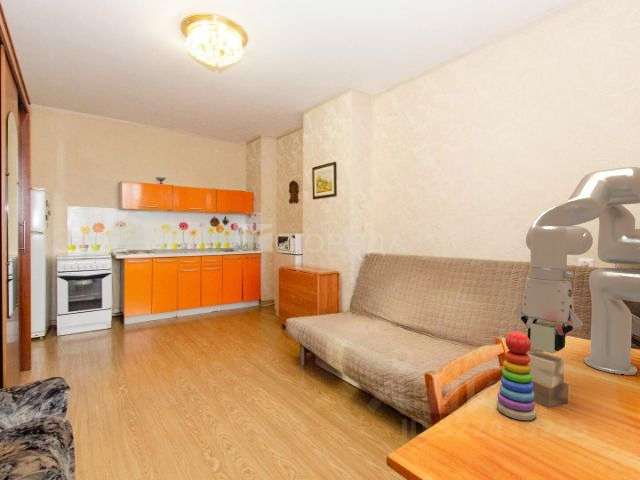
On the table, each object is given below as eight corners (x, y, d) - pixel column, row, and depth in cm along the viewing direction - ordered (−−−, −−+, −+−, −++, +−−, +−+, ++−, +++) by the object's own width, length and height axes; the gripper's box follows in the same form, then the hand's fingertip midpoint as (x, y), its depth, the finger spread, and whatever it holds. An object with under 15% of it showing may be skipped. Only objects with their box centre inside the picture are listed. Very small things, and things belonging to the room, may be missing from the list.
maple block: (537, 373, 86) (538, 350, 86) (563, 382, 81) (564, 358, 81) (525, 378, 83) (526, 355, 83) (551, 387, 78) (552, 363, 78)
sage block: (538, 344, 85) (539, 321, 85) (561, 349, 81) (561, 326, 81) (530, 347, 82) (530, 324, 82) (552, 353, 78) (553, 329, 78)
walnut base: (539, 391, 87) (540, 372, 87) (567, 404, 80) (568, 384, 80) (521, 395, 84) (521, 376, 84) (548, 409, 78) (549, 388, 77)
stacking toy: (542, 424, 71) (545, 339, 71) (503, 419, 72) (505, 336, 72) (527, 405, 79) (529, 329, 78) (491, 401, 80) (493, 326, 80)
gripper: (595, 278, 77) (593, 354, 77) (518, 270, 91) (516, 335, 91) (584, 280, 72) (581, 360, 73) (505, 272, 86) (503, 339, 87)
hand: (545, 345), depth 82 cm, fingers closed on sage block, 5 cm apart
